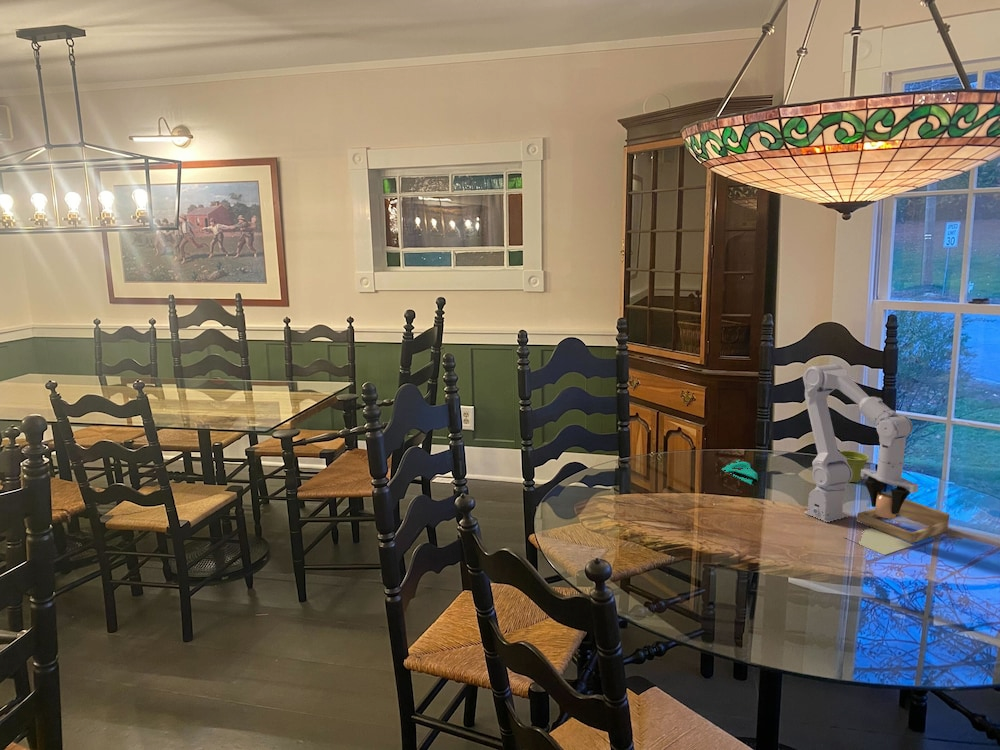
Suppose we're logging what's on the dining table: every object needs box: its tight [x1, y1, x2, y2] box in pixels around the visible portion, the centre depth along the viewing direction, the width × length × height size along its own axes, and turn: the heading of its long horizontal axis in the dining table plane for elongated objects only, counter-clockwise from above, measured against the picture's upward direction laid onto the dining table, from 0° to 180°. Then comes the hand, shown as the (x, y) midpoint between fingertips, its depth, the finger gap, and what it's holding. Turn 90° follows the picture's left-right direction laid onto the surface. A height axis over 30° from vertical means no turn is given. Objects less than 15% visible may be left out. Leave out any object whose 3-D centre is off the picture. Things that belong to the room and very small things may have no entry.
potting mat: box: [858, 527, 914, 556], centre depth 185 cm, size 12×12×1 cm
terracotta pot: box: [874, 491, 897, 519], centre depth 185 cm, size 5×5×6 cm
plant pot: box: [838, 450, 869, 483], centre depth 230 cm, size 9×9×9 cm
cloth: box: [721, 459, 759, 486], centre depth 239 cm, size 26×14×2 cm, turn 158°
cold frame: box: [856, 498, 951, 544], centre depth 194 cm, size 16×16×5 cm
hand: (885, 509), depth 185 cm, fingers closed on terracotta pot, 5 cm apart
